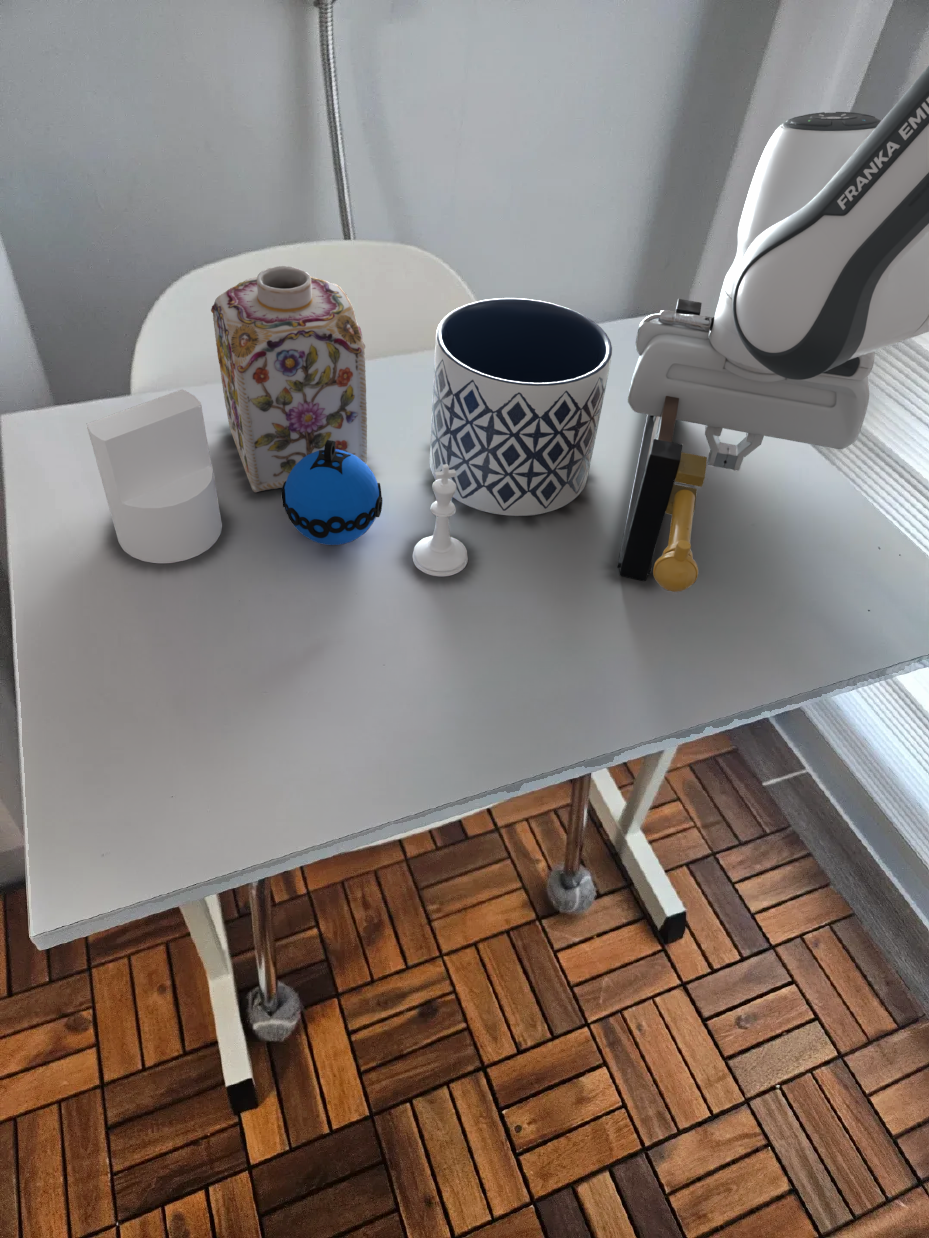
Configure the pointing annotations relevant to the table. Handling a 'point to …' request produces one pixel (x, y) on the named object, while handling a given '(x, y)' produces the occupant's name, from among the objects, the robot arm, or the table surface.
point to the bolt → (678, 548)
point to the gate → (665, 421)
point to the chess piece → (441, 533)
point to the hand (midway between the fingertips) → (723, 464)
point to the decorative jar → (290, 371)
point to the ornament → (331, 496)
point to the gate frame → (656, 489)
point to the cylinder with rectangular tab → (159, 478)
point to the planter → (517, 403)
